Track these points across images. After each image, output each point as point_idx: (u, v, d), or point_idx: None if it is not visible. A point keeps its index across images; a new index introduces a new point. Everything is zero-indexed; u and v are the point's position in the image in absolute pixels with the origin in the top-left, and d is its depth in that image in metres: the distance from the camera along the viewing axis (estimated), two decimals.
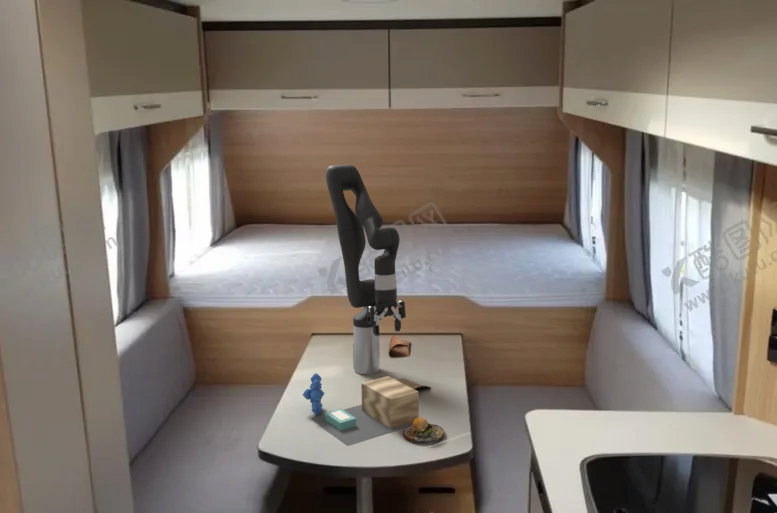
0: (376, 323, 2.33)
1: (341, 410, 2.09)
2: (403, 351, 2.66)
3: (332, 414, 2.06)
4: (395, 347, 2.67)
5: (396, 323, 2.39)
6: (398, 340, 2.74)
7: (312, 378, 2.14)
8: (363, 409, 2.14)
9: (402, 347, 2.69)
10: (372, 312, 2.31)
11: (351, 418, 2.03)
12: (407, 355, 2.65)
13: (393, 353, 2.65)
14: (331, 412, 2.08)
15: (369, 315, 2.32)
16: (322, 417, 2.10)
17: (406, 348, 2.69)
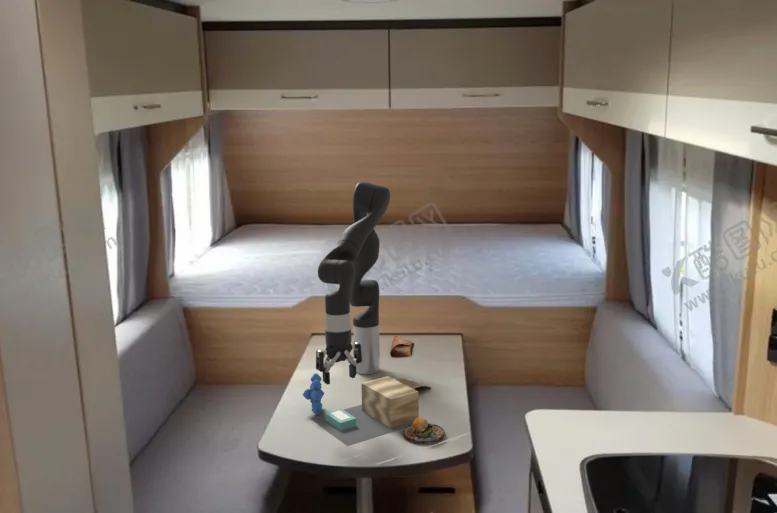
0: (326, 370, 1.99)
1: (341, 410, 2.09)
2: (405, 351, 2.66)
3: (332, 414, 2.06)
4: (397, 347, 2.67)
5: (351, 368, 2.05)
6: (400, 340, 2.74)
7: (312, 378, 2.14)
8: (363, 409, 2.14)
9: (404, 347, 2.69)
10: (321, 358, 1.97)
11: (351, 418, 2.03)
12: (408, 355, 2.65)
13: (394, 353, 2.65)
14: (331, 412, 2.08)
15: (318, 361, 1.98)
16: (322, 417, 2.10)
17: (408, 348, 2.69)
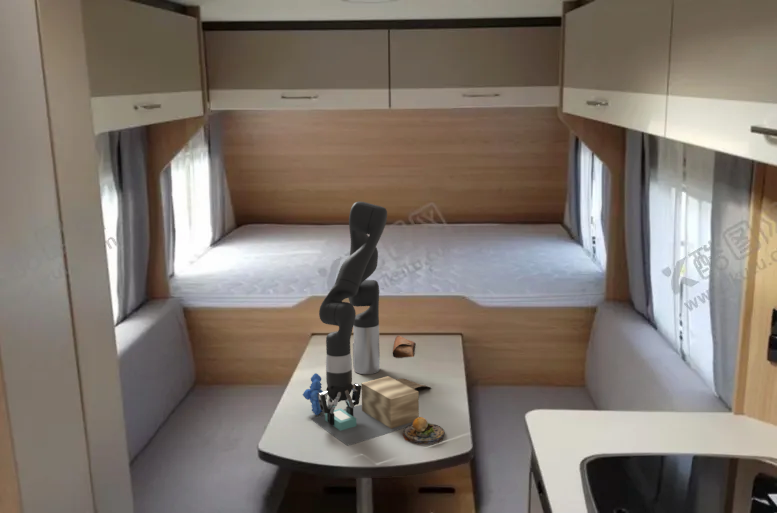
0: (331, 411, 2.02)
1: (341, 410, 2.09)
2: (407, 351, 2.66)
3: None
4: (399, 347, 2.67)
5: (348, 410, 2.07)
6: (402, 340, 2.74)
7: (312, 378, 2.14)
8: (363, 409, 2.14)
9: (406, 347, 2.69)
10: (323, 400, 2.00)
11: (351, 418, 2.03)
12: (411, 355, 2.65)
13: (396, 353, 2.65)
14: None
15: (321, 403, 2.01)
16: (322, 417, 2.10)
17: (410, 348, 2.69)
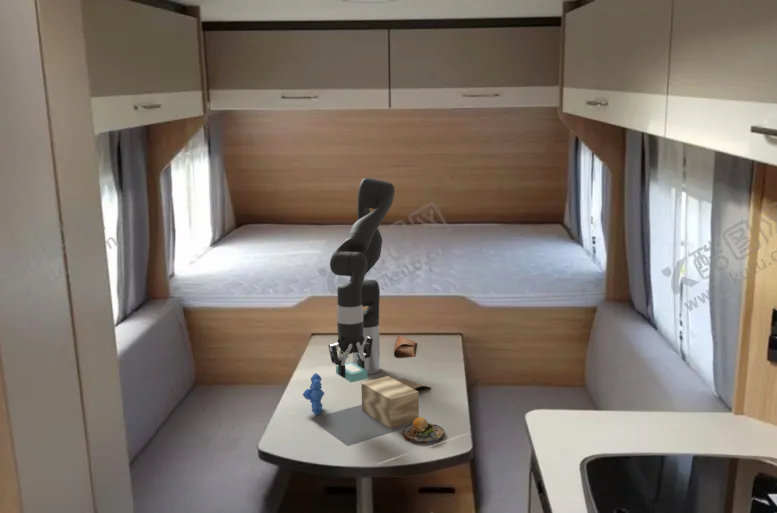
0: (342, 363, 2.00)
1: (352, 363, 2.07)
2: (409, 351, 2.66)
3: None
4: (400, 347, 2.67)
5: (359, 363, 2.05)
6: (404, 340, 2.74)
7: (312, 378, 2.14)
8: (363, 409, 2.14)
9: (407, 347, 2.69)
10: (334, 352, 1.98)
11: (362, 370, 2.02)
12: (412, 355, 2.65)
13: (398, 354, 2.64)
14: None
15: (332, 355, 1.99)
16: (322, 417, 2.10)
17: (411, 348, 2.69)
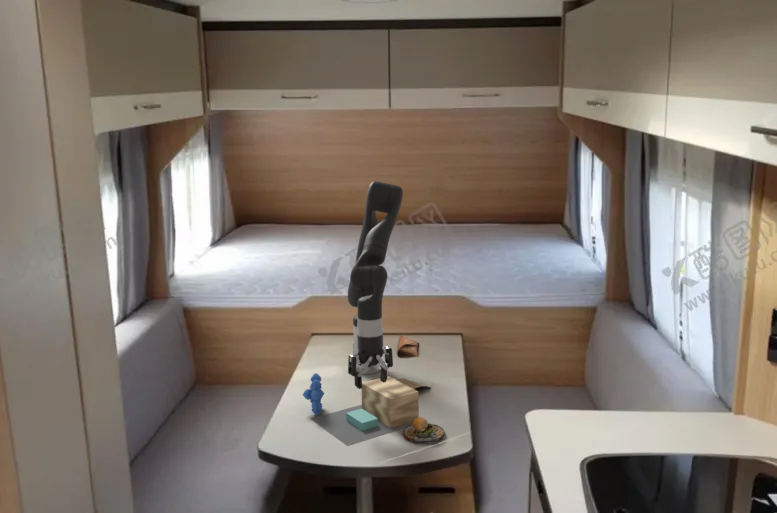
0: (358, 374, 2.01)
1: None
2: (412, 351, 2.66)
3: None
4: (403, 347, 2.66)
5: (382, 373, 2.07)
6: (406, 340, 2.73)
7: (312, 378, 2.14)
8: (363, 409, 2.14)
9: (410, 347, 2.69)
10: (354, 362, 1.99)
11: None
12: (415, 355, 2.65)
13: (401, 354, 2.64)
14: None
15: (350, 365, 2.00)
16: (322, 417, 2.10)
17: (414, 348, 2.69)
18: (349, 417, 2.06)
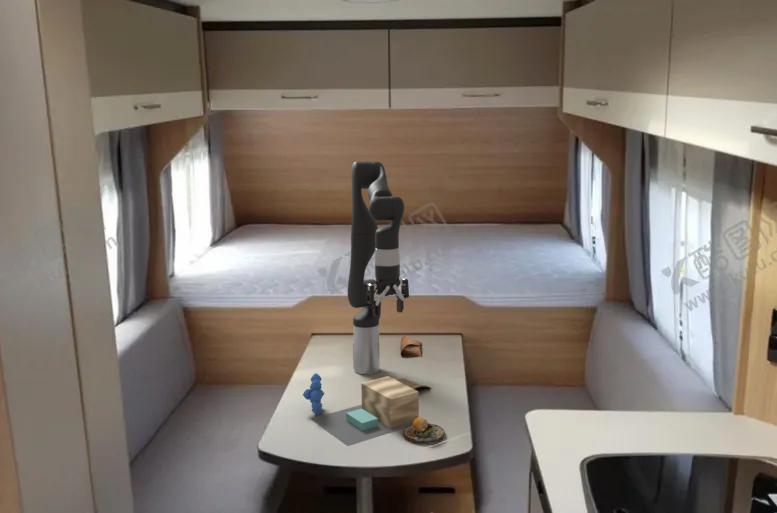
0: (376, 303, 2.08)
1: None
2: (415, 351, 2.66)
3: None
4: (407, 347, 2.66)
5: (398, 303, 2.14)
6: (409, 340, 2.73)
7: (312, 378, 2.14)
8: (363, 409, 2.14)
9: (414, 347, 2.69)
10: (372, 290, 2.06)
11: None
12: (419, 355, 2.65)
13: (405, 354, 2.64)
14: None
15: (368, 294, 2.07)
16: (322, 417, 2.10)
17: (418, 348, 2.69)
18: (349, 417, 2.06)
